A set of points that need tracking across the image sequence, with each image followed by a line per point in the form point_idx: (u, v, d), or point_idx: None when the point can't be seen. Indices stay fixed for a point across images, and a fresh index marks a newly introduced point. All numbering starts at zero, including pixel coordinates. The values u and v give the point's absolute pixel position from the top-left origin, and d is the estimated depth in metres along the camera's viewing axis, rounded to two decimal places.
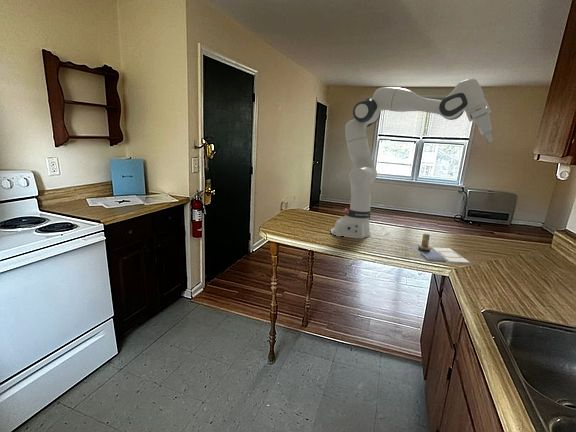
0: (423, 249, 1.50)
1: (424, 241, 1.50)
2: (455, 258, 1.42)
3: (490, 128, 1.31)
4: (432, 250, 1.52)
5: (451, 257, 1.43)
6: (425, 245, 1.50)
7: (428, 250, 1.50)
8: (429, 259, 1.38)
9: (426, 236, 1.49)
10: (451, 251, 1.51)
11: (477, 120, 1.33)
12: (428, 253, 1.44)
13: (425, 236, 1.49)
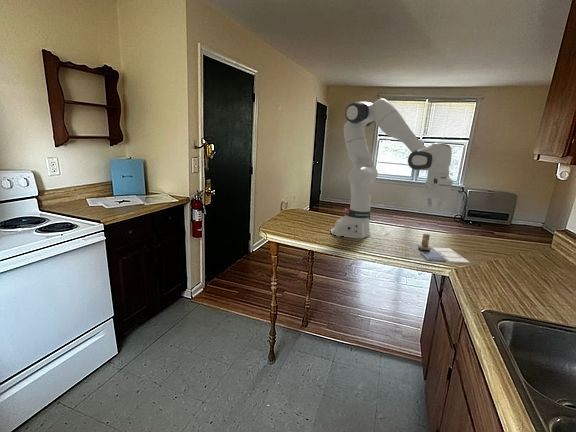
0: (423, 249, 1.50)
1: (424, 241, 1.50)
2: (455, 258, 1.42)
3: (447, 201, 1.36)
4: (432, 250, 1.52)
5: (451, 257, 1.43)
6: (425, 245, 1.50)
7: (428, 250, 1.50)
8: (429, 259, 1.38)
9: (426, 236, 1.49)
10: (451, 251, 1.51)
11: (441, 188, 1.35)
12: (428, 253, 1.44)
13: (425, 236, 1.49)
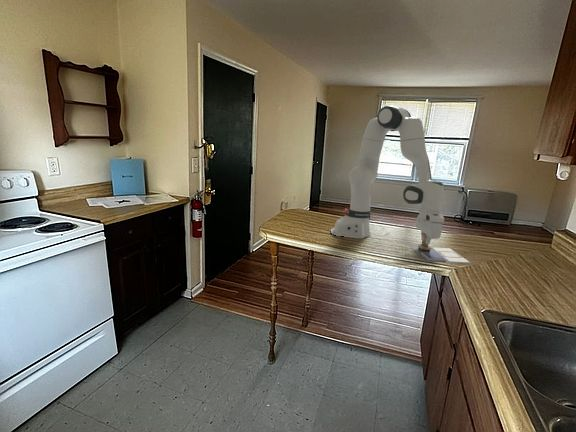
0: (423, 249, 1.50)
1: (424, 241, 1.50)
2: (455, 258, 1.42)
3: (438, 237, 1.40)
4: (432, 250, 1.52)
5: (451, 257, 1.43)
6: (425, 245, 1.50)
7: (428, 250, 1.50)
8: (429, 259, 1.38)
9: (426, 236, 1.49)
10: (451, 251, 1.51)
11: (433, 225, 1.40)
12: (428, 253, 1.44)
13: (425, 236, 1.49)
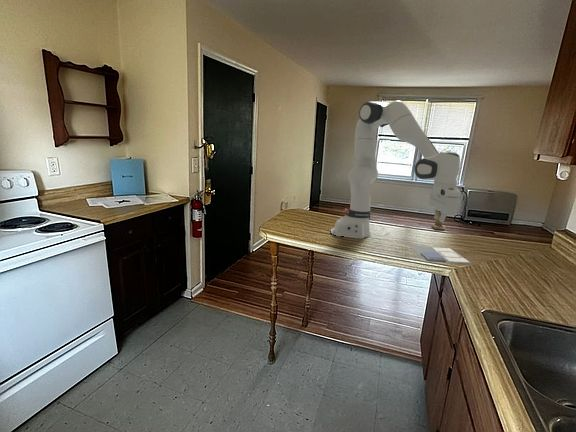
0: (437, 228, 1.37)
1: (438, 219, 1.37)
2: (455, 258, 1.42)
3: None
4: (432, 250, 1.52)
5: (451, 257, 1.43)
6: (439, 224, 1.37)
7: (442, 229, 1.37)
8: (429, 259, 1.38)
9: (440, 214, 1.36)
10: (451, 251, 1.51)
11: (448, 200, 1.27)
12: (428, 253, 1.44)
13: (439, 214, 1.36)
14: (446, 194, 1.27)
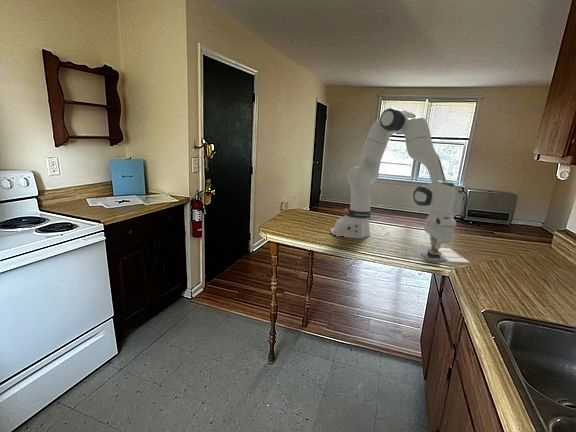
0: (433, 254, 1.40)
1: (434, 245, 1.40)
2: (455, 258, 1.42)
3: (450, 242, 1.30)
4: None
5: (451, 257, 1.43)
6: (435, 250, 1.40)
7: (438, 255, 1.40)
8: (429, 259, 1.38)
9: (436, 240, 1.39)
10: (451, 251, 1.51)
11: (444, 230, 1.30)
12: None
13: (435, 240, 1.39)
14: (441, 223, 1.30)
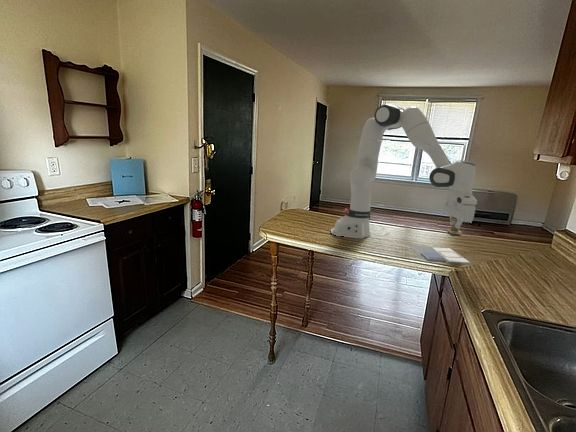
0: (453, 233, 1.43)
1: (454, 225, 1.43)
2: (455, 258, 1.42)
3: (471, 221, 1.33)
4: (432, 250, 1.52)
5: (451, 257, 1.43)
6: (455, 229, 1.43)
7: (458, 234, 1.43)
8: (429, 259, 1.38)
9: (456, 220, 1.42)
10: (451, 251, 1.51)
11: (465, 208, 1.32)
12: (428, 253, 1.44)
13: (455, 220, 1.42)
14: (463, 202, 1.33)
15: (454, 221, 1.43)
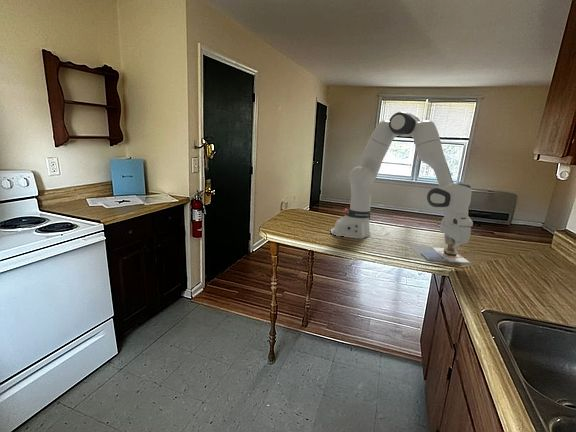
0: (449, 253, 1.45)
1: (450, 245, 1.45)
2: (455, 258, 1.42)
3: (467, 242, 1.35)
4: (432, 250, 1.52)
5: (451, 257, 1.43)
6: (451, 249, 1.45)
7: (454, 254, 1.45)
8: (429, 259, 1.38)
9: (453, 240, 1.44)
10: None
11: (461, 230, 1.35)
12: (428, 253, 1.44)
13: (451, 240, 1.44)
14: (459, 224, 1.35)
15: (450, 241, 1.45)
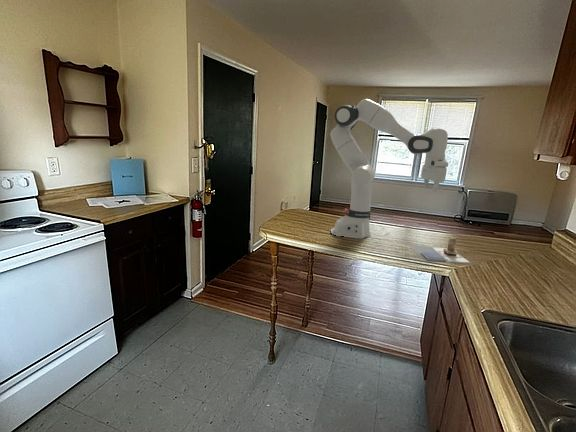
0: (449, 253, 1.45)
1: (450, 245, 1.45)
2: (455, 258, 1.42)
3: (443, 181, 1.49)
4: (432, 250, 1.52)
5: (451, 257, 1.43)
6: (451, 249, 1.45)
7: (454, 254, 1.45)
8: (429, 259, 1.38)
9: (453, 240, 1.44)
10: None
11: (437, 169, 1.49)
12: (428, 253, 1.44)
13: (451, 240, 1.44)
14: (435, 164, 1.49)
15: (450, 241, 1.45)
